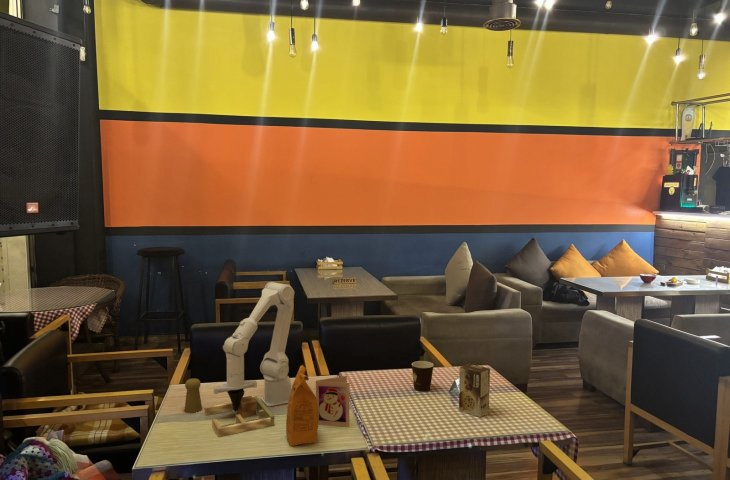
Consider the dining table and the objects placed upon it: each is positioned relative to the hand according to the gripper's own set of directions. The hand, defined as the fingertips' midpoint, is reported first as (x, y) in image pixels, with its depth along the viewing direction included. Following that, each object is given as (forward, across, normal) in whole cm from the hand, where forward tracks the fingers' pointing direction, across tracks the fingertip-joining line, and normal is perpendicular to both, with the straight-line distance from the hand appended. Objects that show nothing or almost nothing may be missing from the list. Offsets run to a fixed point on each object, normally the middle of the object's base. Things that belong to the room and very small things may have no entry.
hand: (235, 410), depth 185 cm
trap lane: (+2, 0, +4) cm, 4 cm away
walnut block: (+2, -4, 0) cm, 4 cm away
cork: (+2, +12, -12) cm, 17 cm away
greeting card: (+2, -28, +20) cm, 35 cm away
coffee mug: (+2, -73, +7) cm, 73 cm away
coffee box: (+2, -76, +35) cm, 84 cm away
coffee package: (+2, -14, +26) cm, 30 cm away
